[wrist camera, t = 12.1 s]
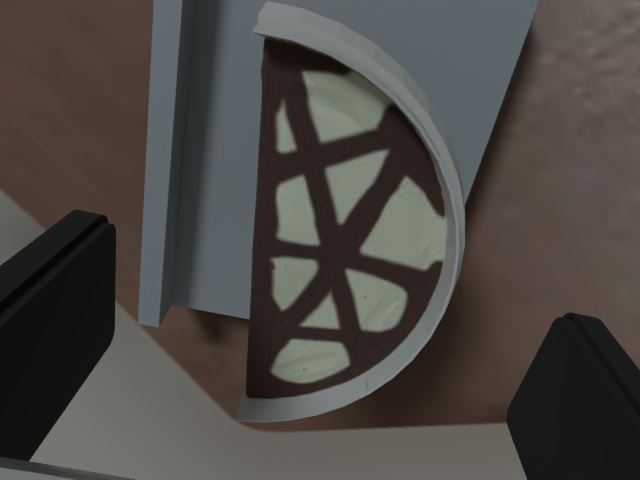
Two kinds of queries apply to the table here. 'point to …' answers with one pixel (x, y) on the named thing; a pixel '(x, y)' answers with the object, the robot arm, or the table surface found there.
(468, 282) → the table surface
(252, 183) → the stand
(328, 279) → the food container
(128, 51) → the table surface
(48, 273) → the robot arm
